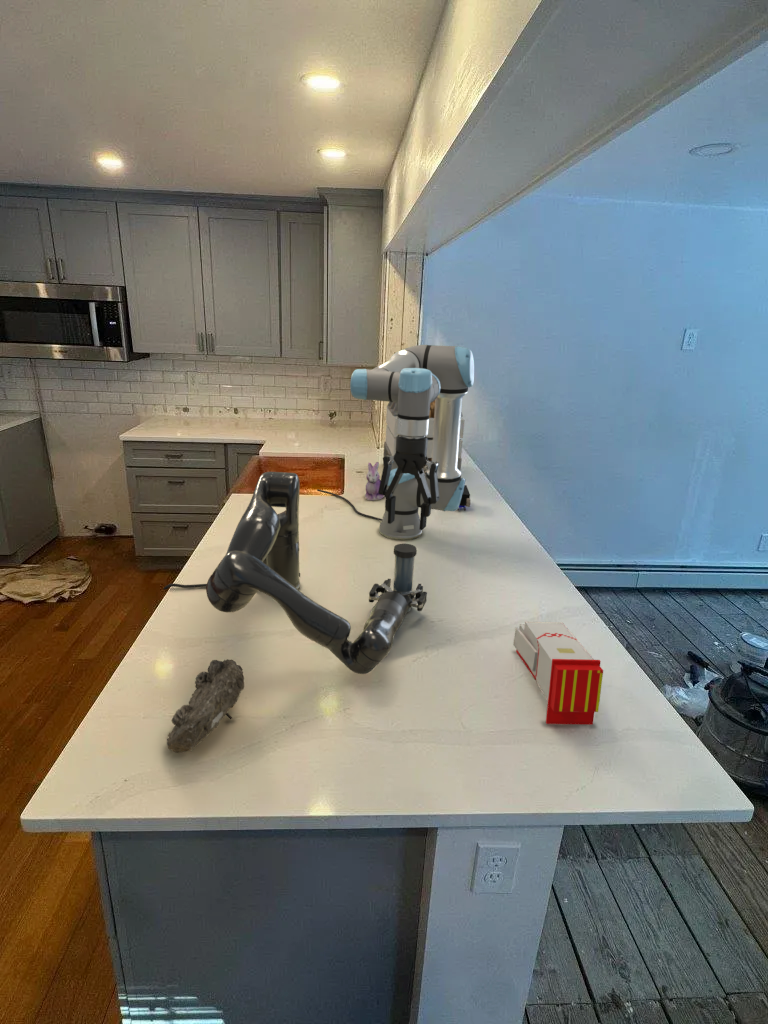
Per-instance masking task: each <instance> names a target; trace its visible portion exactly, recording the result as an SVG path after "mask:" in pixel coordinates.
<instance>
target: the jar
mask: <svg viewBox="0 0 768 1024" xmlns="http://www.w3.org/2000/svg"><path fill="white" fill-rule="evenodd" d="M415 557H416V556H415ZM415 557H412V558H400V557H397V556H396V555H394V569H393V570H394V571H393V589H392V590H394V591H398V592H406V591H409V590H412V591H413V588H414V587H413V586H414V572H415V571H414V570H415ZM408 596H409V595H408ZM411 610H412V607H411V608H409V609H408V611H407V613H409V612H411Z"/></svg>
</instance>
